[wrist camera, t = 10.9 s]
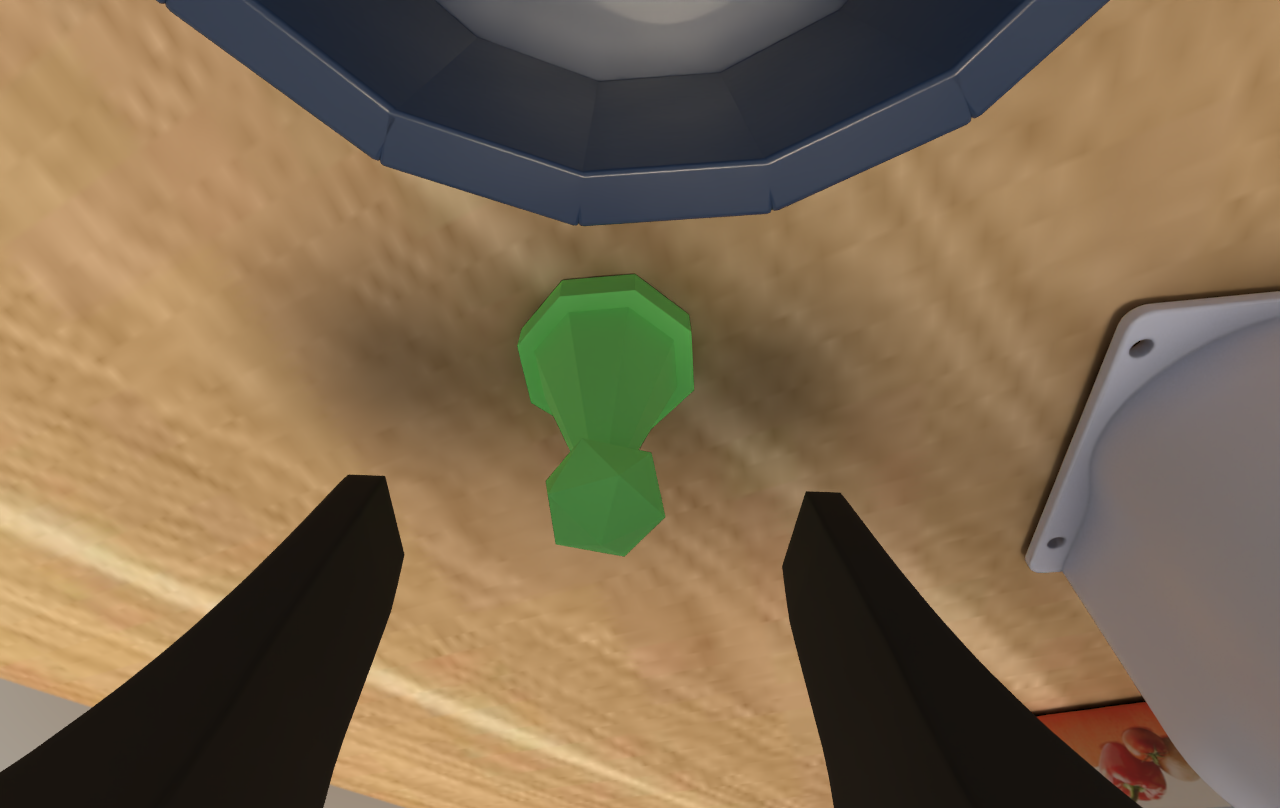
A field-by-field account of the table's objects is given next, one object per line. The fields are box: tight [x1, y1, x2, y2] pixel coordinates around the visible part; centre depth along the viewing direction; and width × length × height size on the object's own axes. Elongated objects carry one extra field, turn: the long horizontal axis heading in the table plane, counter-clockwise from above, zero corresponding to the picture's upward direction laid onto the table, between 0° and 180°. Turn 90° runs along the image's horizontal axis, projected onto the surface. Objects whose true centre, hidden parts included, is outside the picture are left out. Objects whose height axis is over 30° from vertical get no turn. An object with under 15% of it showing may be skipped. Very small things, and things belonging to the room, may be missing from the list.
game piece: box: [517, 274, 694, 557], centre depth 13 cm, size 4×4×6 cm
